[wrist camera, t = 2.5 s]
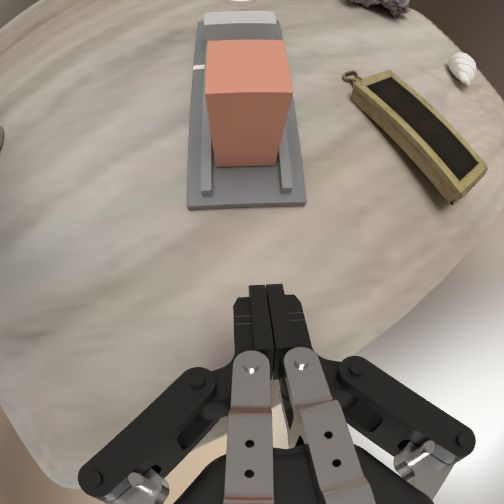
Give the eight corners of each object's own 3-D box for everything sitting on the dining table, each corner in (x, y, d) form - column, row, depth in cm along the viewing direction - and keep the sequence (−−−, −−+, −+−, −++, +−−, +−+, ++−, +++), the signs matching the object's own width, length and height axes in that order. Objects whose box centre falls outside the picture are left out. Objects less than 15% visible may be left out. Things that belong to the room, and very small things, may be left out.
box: (444, 215, 31) (465, 196, 26) (325, 94, 37) (330, 68, 32) (472, 186, 32) (491, 167, 27) (363, 79, 38) (370, 54, 33)
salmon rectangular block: (274, 165, 31) (293, 92, 19) (216, 167, 30) (205, 94, 18) (270, 118, 32) (283, 40, 20) (216, 119, 31) (207, 41, 19)
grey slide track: (304, 205, 31) (318, 183, 25) (188, 210, 31) (177, 188, 25) (277, 25, 36) (282, -4, 30) (198, 27, 36) (195, -3, 30)
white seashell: (446, 83, 37) (462, 65, 31) (442, 62, 38) (456, 45, 32) (470, 97, 37) (486, 81, 31) (465, 76, 38) (480, 60, 32)
